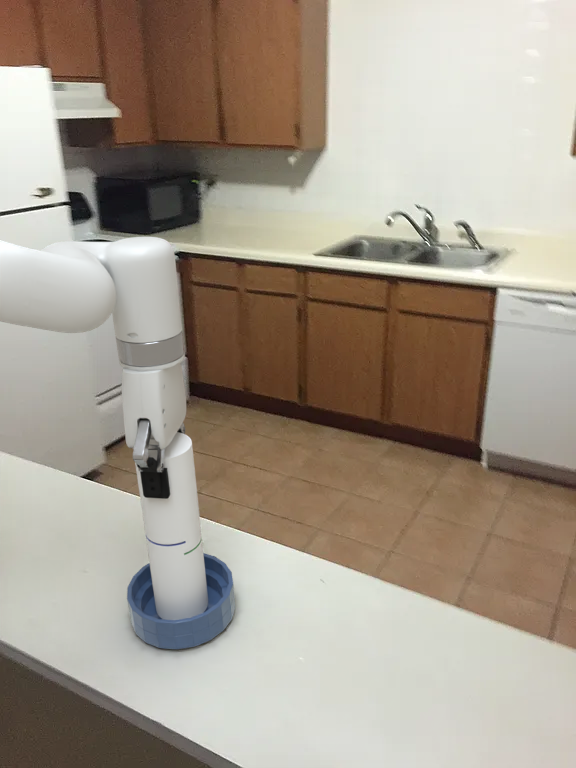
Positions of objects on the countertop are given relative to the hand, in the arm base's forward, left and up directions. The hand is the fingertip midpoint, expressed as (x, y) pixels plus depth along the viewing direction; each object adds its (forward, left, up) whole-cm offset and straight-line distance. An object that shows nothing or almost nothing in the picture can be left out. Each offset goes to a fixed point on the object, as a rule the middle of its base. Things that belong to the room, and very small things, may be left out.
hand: (166, 478), depth 84 cm
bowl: (0, 0, -22) cm, 22 cm away
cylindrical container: (0, 0, -20) cm, 20 cm away
